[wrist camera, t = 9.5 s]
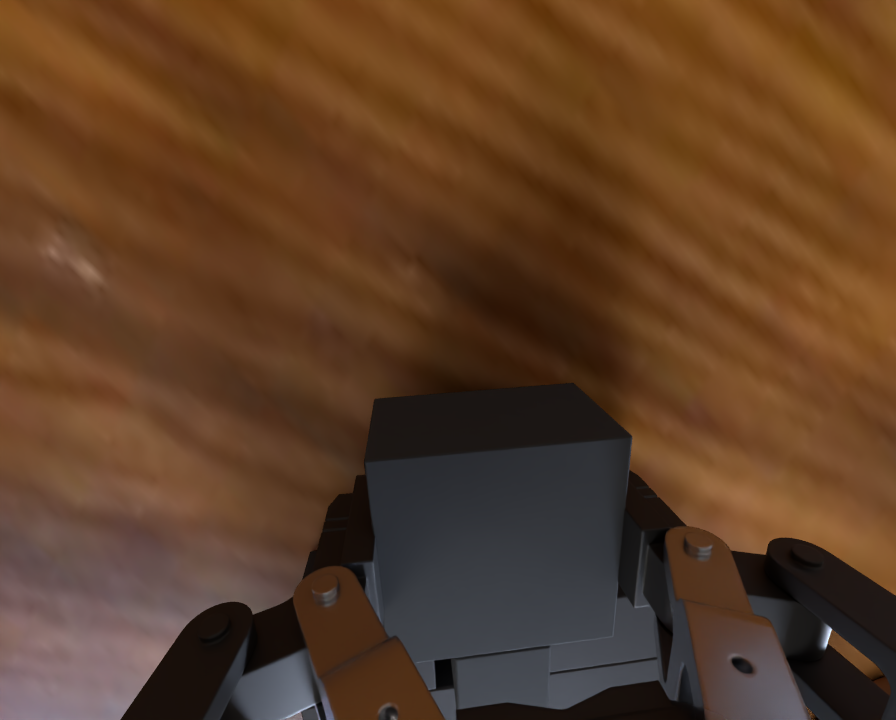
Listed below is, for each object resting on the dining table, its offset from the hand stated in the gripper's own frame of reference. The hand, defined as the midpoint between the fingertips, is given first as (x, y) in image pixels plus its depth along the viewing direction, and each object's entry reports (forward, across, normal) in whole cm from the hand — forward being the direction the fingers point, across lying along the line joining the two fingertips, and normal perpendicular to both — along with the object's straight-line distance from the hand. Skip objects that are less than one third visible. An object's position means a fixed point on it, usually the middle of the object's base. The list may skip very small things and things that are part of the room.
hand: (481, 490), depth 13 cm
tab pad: (+1, 0, +1) cm, 1 cm away
